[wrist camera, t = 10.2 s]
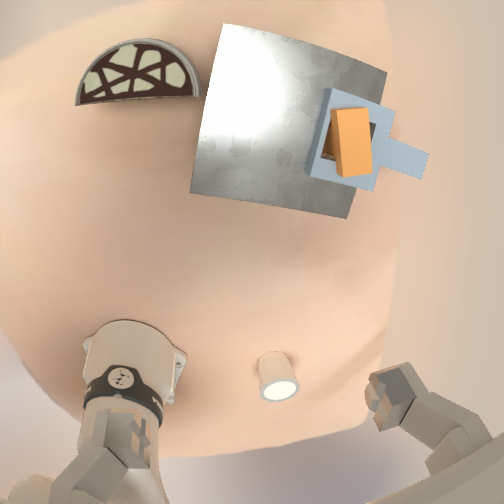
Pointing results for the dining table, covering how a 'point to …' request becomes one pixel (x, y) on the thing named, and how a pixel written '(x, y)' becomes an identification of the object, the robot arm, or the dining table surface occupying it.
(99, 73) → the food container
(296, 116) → the metal plate
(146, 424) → the robot arm
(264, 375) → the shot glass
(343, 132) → the orange t-shaped block
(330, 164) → the bracket
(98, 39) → the dining table surface
